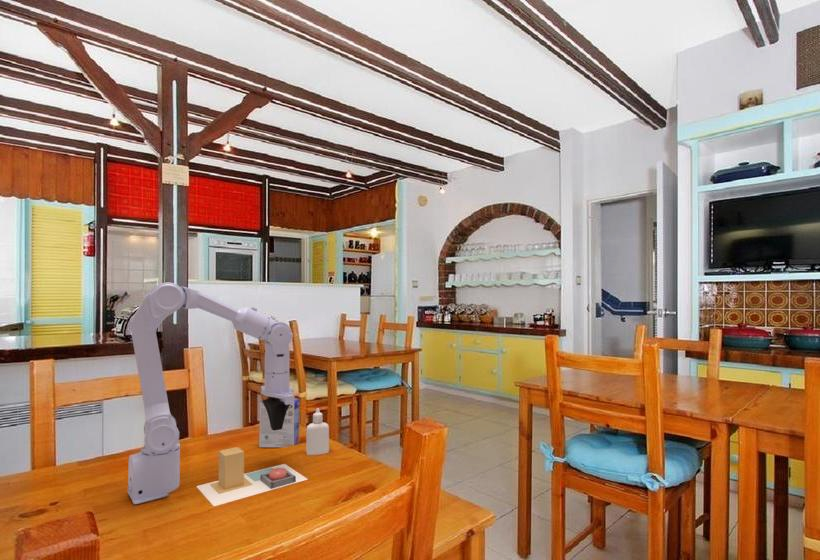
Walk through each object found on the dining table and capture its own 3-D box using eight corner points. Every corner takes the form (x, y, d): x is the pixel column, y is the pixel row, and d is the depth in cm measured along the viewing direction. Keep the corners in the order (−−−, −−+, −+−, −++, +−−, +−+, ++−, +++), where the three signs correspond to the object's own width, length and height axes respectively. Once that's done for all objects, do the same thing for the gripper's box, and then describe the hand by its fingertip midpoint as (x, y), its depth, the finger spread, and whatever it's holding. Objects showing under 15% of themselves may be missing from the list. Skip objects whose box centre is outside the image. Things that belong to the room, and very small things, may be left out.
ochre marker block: (224, 489, 97) (225, 456, 97) (218, 483, 100) (218, 450, 100) (243, 484, 100) (244, 451, 100) (237, 478, 103) (237, 446, 103)
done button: (273, 485, 99) (273, 475, 99) (266, 479, 102) (266, 470, 102) (289, 480, 102) (289, 471, 102) (282, 475, 104) (282, 466, 104)
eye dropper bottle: (310, 452, 122) (310, 406, 123) (330, 453, 122) (330, 406, 122) (304, 457, 118) (304, 410, 118) (325, 459, 117) (325, 411, 118)
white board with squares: (213, 510, 90) (213, 500, 90) (196, 489, 99) (196, 480, 99) (308, 482, 103) (308, 473, 103) (284, 467, 112) (284, 458, 112)
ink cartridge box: (300, 441, 131) (300, 389, 131) (295, 448, 125) (295, 394, 126) (265, 441, 131) (265, 389, 131) (258, 448, 125) (258, 394, 126)
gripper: (306, 374, 108) (306, 433, 108) (280, 366, 119) (279, 419, 119) (277, 377, 104) (277, 439, 103) (252, 369, 115) (252, 424, 115)
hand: (276, 429), depth 111 cm, fingers closed
